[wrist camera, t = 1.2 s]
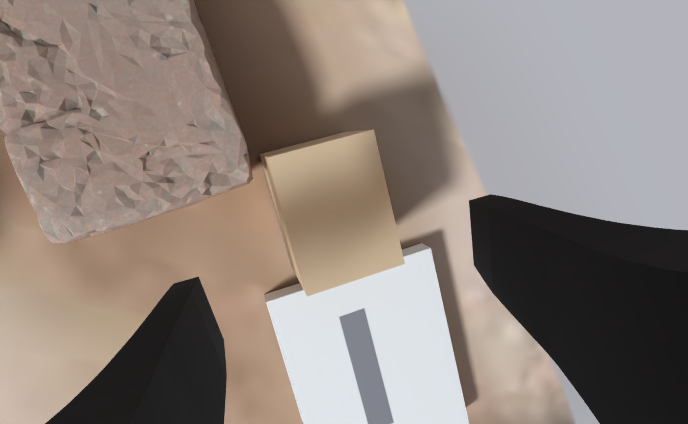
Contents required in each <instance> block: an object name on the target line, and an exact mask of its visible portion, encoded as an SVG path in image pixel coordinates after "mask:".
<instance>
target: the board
mask: <svg viewBox="0 0 688 424" xmlns="http://www.w3.org/2000/svg"><path fill="white" fill-rule="evenodd" d="M402 253H403V258H404V262H405V264H403V265H400V266H397V267H394V268H391V269H388V270H385V271H382V272H379V273H376V274H373V275H370V276H367V277H364V278H361V279H358V280H355V281H352V282H349V283H346V284H343V285H340V286H337V287H334V288H331V289H328V290H325V291H322V292H319V293H316V294H313V295H310V296H307V295H306V293H305V291H304V289H303V288H302V286H301V284H300V283H298V284H295V285H292V286H289V287H286V288H283V289H280V290H276V291H273V292H270V293H267V294H264V296H265V300H266V304H267V307H268V310H269V313H270V317H271V320H272V323H273V326H274V330H275V333H276V336H277V340H278V343H279V346H280V349H281V353H282V356H283V359H284V362H285V366H286V369H287V372H288V376H289V379H290V382H291V385H292V389H293V392H294V395H295V398H296V402H297V405H298V408H299V411H300V415H301V418H302V421H303V424H469V421H468V416H467V412H466V407H465V402H464V398H463V393H462V389H461V384H460V380H459V375H458V370H457V366H456V361H455V357H454V352H453V348H452V343H451V338H450V334H449V329H448V325H447V320H446V315H445V311H444V306H443V302H442V297H441V293H440V288H439V283H438V279H437V274H436V270H435V265H434V261H433V256H432V251H431V248H430V247H428V246H426V245H424V244H422V243H420V244H417V245H414V246H411V247H408V248H405V249H402Z"/></svg>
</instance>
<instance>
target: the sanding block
mask: <svg viewBox="0 0 688 424" xmlns="http://www.w3.org/2000/svg"><path fill="white" fill-rule="evenodd" d="M259 155H260V159H261V162H262V166H263V169H264V173H265V176H266V180H267V183H268V187H269V190H270V193H271V197H272V200H273V204H274V207H275V211H276V214H277V218H278V221H279V225H280V228H281V232H282V235H283V239H284V242H285V246H286V249H287V253H288V256H289V260H290V263H291V266H292V268H293V270H294V272H295V274H296V276H297V278H298V280H299V282H300V284H301V286H302V288H303V289H304V291H305V293H306V295H307V296H310V295H313V294H316V293H319V292H322V291H325V290H328V289H331V288H334V287H337V286H340V285H343V284H346V283H349V282H352V281H355V280H358V279H361V278H364V277H367V276H370V275H373V274H376V273H379V272H382V271H385V270H388V269H391V268H394V267H397V266H400V265H403V264H405V262H404V258H403V253H402V249H401V245H400V240H399V236H398V232H397V227H396V223H395V219H394V214H393V210H392V206H391V201H390V197H389V193H388V188H387V184H386V180H385V175H384V171H383V167H382V162H381V158H380V154H379V149H378V145H377V141H376V137H375V132H374V129H371V130H359V131H347V132H341V133H338V134H334V135H330V136H326V137H323V138H319V139H315V140H311V141H307V142H304V143H300V144H296V145H292V146H288V147H285V148H281V149H277V150H273V151H269V152H266V153H262V154H259Z"/></svg>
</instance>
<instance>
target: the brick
mask: <svg viewBox="0 0 688 424" xmlns="http://www.w3.org/2000/svg"><path fill="white" fill-rule="evenodd" d="M0 129H1V130H2V131H3V132H4V133H5V134H4V141H5V146H6V150H7V152H8V154H9V157H10V159H11V162H12V164H13V166H14V169H15V171H16V174H17V176H18V178H19V180H20V182H21V184H22V186H23V188H24V190H25V192H26V194H27V196H28V198H29V200H30V202H31V204H32V206H33V208H34V210H35V212H36V214H37V216H38V220H39V224H40V226H41V229H42V231H43V233H44V234H45V235H46V237H47V238H48V240H49V241H50V242H55V243H61V244H62V243H66V242H70V241H76V240H79V239H83V238H86V237H90V236H95V235H98V234H102V233H105V232H108V231H113V230H116V229H120V228H123V227H126V226H129V225H132V224H135V223H138V222H140V221H143V220H146V219H149V218H152V217H155V216H157V215H160V214H163V213H166V212H169V211H172V210H176V209H179V208H183V207H186V206H190V205H192V204H195V203H198V202H200V201H203V200H205V199H207V198H210V197H212V196H215V195H217V194H220V193H223V192H226V191H229V190H232V189H234V188H237V187H240V186H243V185H246V184H249V183H250V181H251V180H252V179H253V177H252V169H251V166H250V158H249V153H248V149H247V144H246V141H245V137H244V135H243V132H242V130H241V127H240V125H239V123H238V120H237V118H236V116H235V113H234V110H233V107H232V104H231V102H230V99H229V96H228V94H227V91H226V88H225V85H224V82H223V79H222V76H221V73H220V71H219V68H218V66H217V63H216V61H215V58H214V55H213V52H212V49H211V46H210V43H209V41H208V38H207V35H206V32H205V29H204V27H203V24H202V21H201V19H200V16H199V14H198V11H197V8H196V5H195V2H194V0H0Z"/></svg>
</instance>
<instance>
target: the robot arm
mask: <svg viewBox="0 0 688 424" xmlns="http://www.w3.org/2000/svg"><path fill="white" fill-rule="evenodd" d="M469 207H470V220H471V233H472V246H473V259H474V266H475V267H476V269H477V270H478V272H479V273H480V275H481V277H482V278H483V280H484V281H485V283H486V284H487V285H488V287H489V288H490V290H491V291H492V293H493V294H494V295H495V296H496V297H497V298H498V299H499V301H500V302H501V303H502V304H503V305H504V306H505V307H506V308H507V309H508V311H509V312H510V313H511V314H512V315H513V316H514V317H515V318H516V319H517V320H518V322H519V323H520V324H521V325H522V326H523V327H524V328H525V329H526V330H527V331H528V332H529V333H530V335H531V336H532V337H533V338H534V339H535V340H536V341H537V342H538V343H539V344H540V345H541V347H542V348H543V349H544V350H545V351H546V352H547V353H548V354H549V356H550V357H551V358H552V359H553V360H554V361H555V363H556V364H557V365H558V366H559V368H560V369H561V370H562V372H563V373H564V374H565V376H566V377H567V378H568V380H569V381H570V382H571V384H572V385H573V386H574V388H575V389H576V391H577V392H578V393H579V395H580V396H581V397H582V399H583V400H584V402H585V403H586V404H587V406H588V407H589V409H590V410H591V411H592V413H593V414H594V416H595V417H596V419H597V420H598V422H599V423H600V424H688V230H673V229H663V228H653V227H645V226H638V225H631V224H623V223H617V222H611V221H605V220H600V219H596V218H591V217H586V216H581V215H576V214H572V213H567V212H563V211H559V210H555V209H551V208H547V207H543V206H539V205H536V204H532V203H528V202H524V201H520V200H515V199H512V198H507V197H502V196H496V195H487V196H484V197H480V198H476V199H473V200H469ZM226 376H227V374H226V360H225V348H224V339H223V337H222V334H221V332H220V329H219V327H218V324H217V322H216V319H215V317H214V314H213V312H212V309H211V307H210V304H209V302H208V299H207V297H206V294H205V292H204V289H203V287H202V284H201V282H200V279H199V277H196V278H192V279H189V280H185V281H182V282H178V283H174V284H173V285H172V286H171V287H170V289H169V290H168V291H167V292H166V293H165V295H164V296H163V297H162V299H161V300H160V301H159V302H158V304H157V305H156V306H155V308H154V309H153V310H152V312H151V313H150V314H149V315H148V317H147V318H146V319H145V321H144V322H143V323H142V324H141V326H140V327H139V328H138V329H137V331H136V332H135V333H134V334H133V336H132V337H131V338H130V339H129V340H128V341H127V343H126V344H125V345H124V346H123V347H122V348H121V350H120V351H119V352H118V353H117V354H116V355H115V356H114V358H113V359H112V360H111V361H110V362H109V363H108V365H107V366H106V367H105V368H104V369H103V370H102V371H101V372H100V373H99V374H98V375H97V376H96V377H95V378H94V379H93V380H92V381H91V382H90V383H89V384H88V385H87V386H86V387H85V388H84V389H83V390H82V391H81V392H80V393H79V394H78V395H77V396H76V397H75V398H74V399H73V400H72V401H71V402H70V403H69V404H67V405H66V406H65V407H64V408H63V409H62V410H61V411H60V412H58V413H57V414H56V415H55V416H54V417H53V418H51V419H50V420H49V421H48V422H47V423H45V424H224V413H225V396H226Z"/></svg>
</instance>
